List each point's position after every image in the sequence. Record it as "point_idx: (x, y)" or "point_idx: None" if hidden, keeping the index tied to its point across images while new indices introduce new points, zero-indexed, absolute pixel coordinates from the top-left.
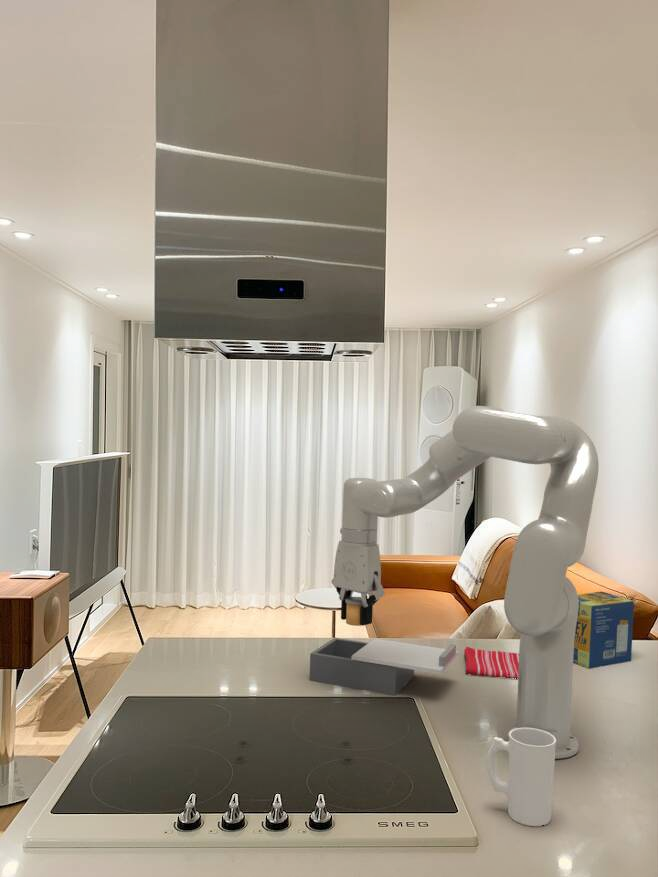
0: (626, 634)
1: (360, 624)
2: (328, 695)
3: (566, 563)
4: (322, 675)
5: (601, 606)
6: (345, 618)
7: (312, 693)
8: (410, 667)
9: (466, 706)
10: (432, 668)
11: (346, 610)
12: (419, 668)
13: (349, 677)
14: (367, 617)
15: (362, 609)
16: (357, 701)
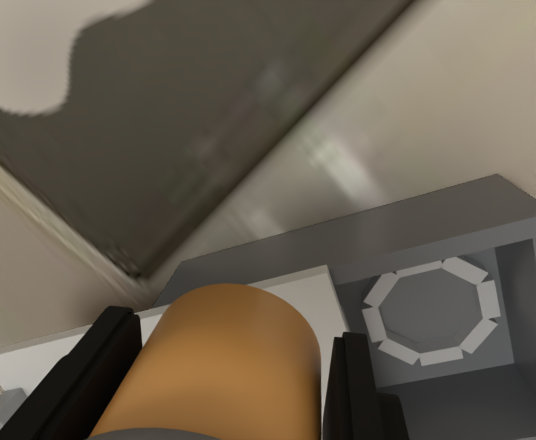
0: None
1: (127, 308)
2: (337, 104)
3: None
4: (449, 198)
5: None
6: (332, 356)
7: (399, 73)
8: (84, 328)
9: (9, 322)
10: (11, 355)
11: (284, 389)
12: (53, 337)
13: (334, 233)
14: (46, 377)
15: (20, 416)
16: (225, 136)
